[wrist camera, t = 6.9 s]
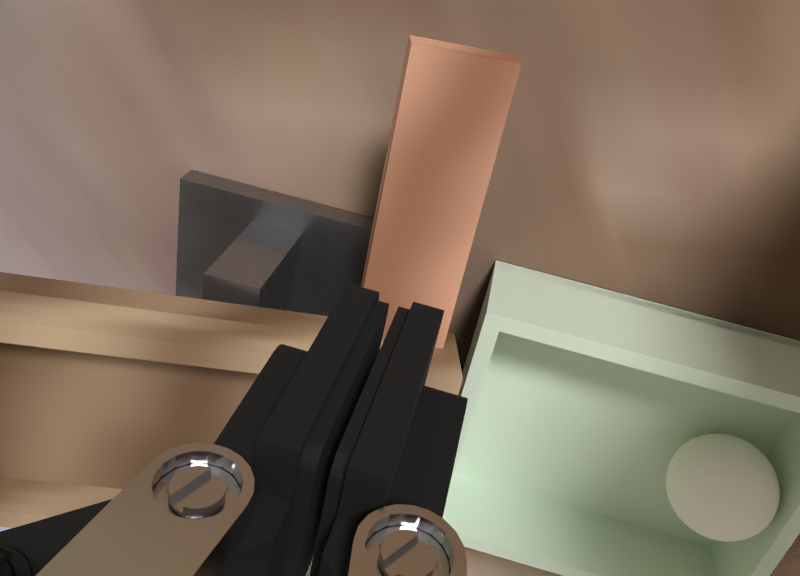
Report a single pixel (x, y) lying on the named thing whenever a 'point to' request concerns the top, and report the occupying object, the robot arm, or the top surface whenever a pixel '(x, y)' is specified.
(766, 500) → the ball
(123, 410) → the chute
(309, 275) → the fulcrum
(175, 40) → the top surface
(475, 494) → the tray
